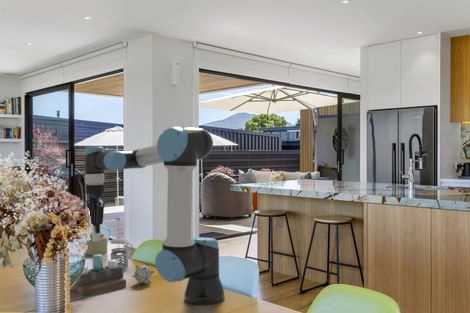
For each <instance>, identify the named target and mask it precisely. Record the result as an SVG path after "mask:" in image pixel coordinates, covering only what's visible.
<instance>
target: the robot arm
mask: <svg viewBox="0 0 470 313" xmlns="http://www.w3.org/2000/svg"><path fill="white" fill-rule="evenodd" d="M213 141H214V139H213V138H212V135H211V134H210V133H209V132H208V131H207V130H205V129H204V128H201V127H186V126H173V127H172V126H171V127H168V128H165V130H163V131H162V132H161V134H160V135H159V136H158V138H157V142H156V144H155V145H151V146H146V147H142V148H138V149H134V150H106V151H105V150H104V147H103V146H86V147H85V149H84V173H85V174H84V178H85V179H84V183H85V184H86V185H85V194H87V195H89V196H88V199H86V200H85V201H86V205H87V209H88V208H89V210H90V216H91V223H92V224H93V228H92V227H91V228H92V230H91V232H92V236H93V241H100V231H101V225H103V223H104V209H105V206H106V205H105V204H106V201H103V197H102V194H104V193H105V190H106V189H105V188H106V187H105V184H104V183H105V177H106V175H105V170H106V171H114V172H115V171H120V170H127V169H128V170H131V169H143V168H146V167H149V166H152V165H157V164H161V163H163V166H164V167H165V169H166V170H167V206H166V207H167V209H166V210H167V211H166V214H167V217H166V238H165V239H164V240H163V241H162V245H161V246H162V247H161V248H162V250H160V251H159V252H158V253H157V254H156V256H155V259H154V262H155V265H154V266H155V268H156V271H157V273H158V275H160V277H161V279H163V280H164V281H165V282H168V283H176V282H182V281H183V280H185V279H188V281H187V283H186V286H185V291H184V302H187V303H188V304H192V305H201V306H203V305H213V304H217V303H220V302H222V301H223V300H224V299H225V291H224V287H223V285H222V281H221V278H220V254H219V253H220V246H219V242H218V240H217V239H216V238H212V237H205V236H204V237H203V236H202V237H199V236H195V237H194V236H193V237H192V216H193V214H192V212H193V209H192V208H193V206H192V205H193V170H195V168H196V167H197V166H198V164H197V163H198V160H201V159H204V158H207V157H208V156H210V154H211V152H212V150H213V147H214V142H213ZM91 223H90V224H91ZM92 224H91V225H92Z"/></svg>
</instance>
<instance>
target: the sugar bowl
mask: <svg viewBox="0 0 470 313" xmlns="http://www.w3.org/2000/svg"><path fill="white" fill-rule="evenodd" d="M89 234H90V235H89V236H90V238H91V240H89V241H87V240H86V246H87V245H88V249H87V248H86V254H87V255H89V256H93V255H97V254H101V255H106V254H107V253H108V237H107V236H106V235H105V232H103V231H102V230H100V241H93V236H92V231H91V232H90V233H89Z"/></svg>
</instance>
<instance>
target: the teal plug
mask: <svg viewBox="0 0 470 313" xmlns="http://www.w3.org/2000/svg"><path fill="white" fill-rule="evenodd" d="M103 256H104V254H97V255H92V269H93V271H101V270H103V267H104V264H103V263H104V260H103Z"/></svg>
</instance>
